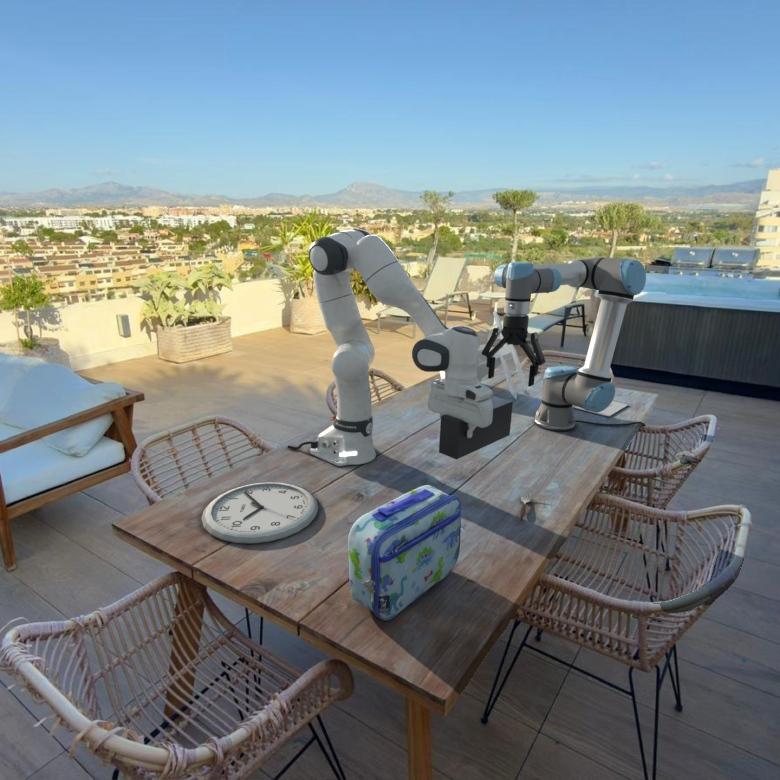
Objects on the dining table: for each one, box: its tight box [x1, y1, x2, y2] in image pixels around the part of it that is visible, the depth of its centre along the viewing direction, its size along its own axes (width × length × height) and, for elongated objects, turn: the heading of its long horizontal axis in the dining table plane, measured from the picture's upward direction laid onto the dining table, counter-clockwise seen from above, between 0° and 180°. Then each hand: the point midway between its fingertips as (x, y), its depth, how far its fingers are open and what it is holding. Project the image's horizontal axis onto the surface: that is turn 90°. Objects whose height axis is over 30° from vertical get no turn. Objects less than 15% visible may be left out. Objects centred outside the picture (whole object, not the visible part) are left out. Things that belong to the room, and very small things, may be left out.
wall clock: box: [201, 481, 319, 544], centre depth 139 cm, size 30×2×30 cm
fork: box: [520, 488, 533, 521], centre depth 143 cm, size 3×16×2 cm, turn 160°
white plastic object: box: [438, 310, 531, 400], centre depth 245 cm, size 37×45×31 cm
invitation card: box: [573, 400, 629, 418], centre depth 226 cm, size 21×1×15 cm
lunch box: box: [347, 484, 462, 621], centre depth 107 cm, size 26×11×21 cm, turn 134°
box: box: [438, 396, 514, 461], centre depth 154 cm, size 26×6×11 cm, turn 135°
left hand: (457, 433), depth 147 cm, fingers closed on box, 6 cm apart
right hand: (510, 381), depth 165 cm, fingers open, 13 cm apart
